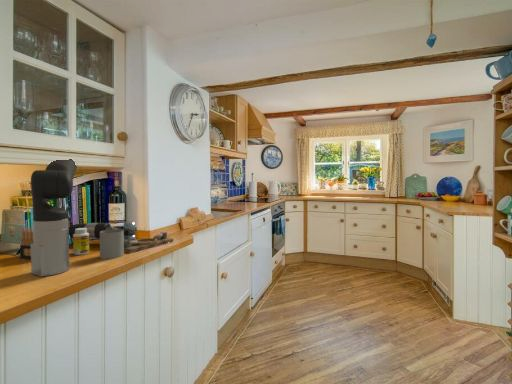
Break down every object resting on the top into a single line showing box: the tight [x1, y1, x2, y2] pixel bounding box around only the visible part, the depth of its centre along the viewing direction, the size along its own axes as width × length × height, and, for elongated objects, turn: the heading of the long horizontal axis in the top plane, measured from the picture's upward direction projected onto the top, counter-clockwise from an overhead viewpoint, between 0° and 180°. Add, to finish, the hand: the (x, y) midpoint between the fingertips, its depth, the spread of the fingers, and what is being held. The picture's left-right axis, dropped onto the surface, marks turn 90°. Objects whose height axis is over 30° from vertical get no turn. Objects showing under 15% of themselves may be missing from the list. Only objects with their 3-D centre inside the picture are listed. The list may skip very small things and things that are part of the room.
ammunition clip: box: [19, 226, 34, 260], centre depth 102 cm, size 11×2×12 cm, turn 78°
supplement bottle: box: [72, 228, 90, 256], centre depth 110 cm, size 6×6×10 cm
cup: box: [99, 229, 125, 260], centre depth 107 cm, size 8×8×10 cm
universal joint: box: [123, 221, 136, 241], centre depth 128 cm, size 5×5×10 cm
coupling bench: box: [124, 231, 174, 254], centre depth 124 cm, size 24×10×4 cm, turn 152°
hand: (132, 231), depth 128 cm, fingers open, 8 cm apart
